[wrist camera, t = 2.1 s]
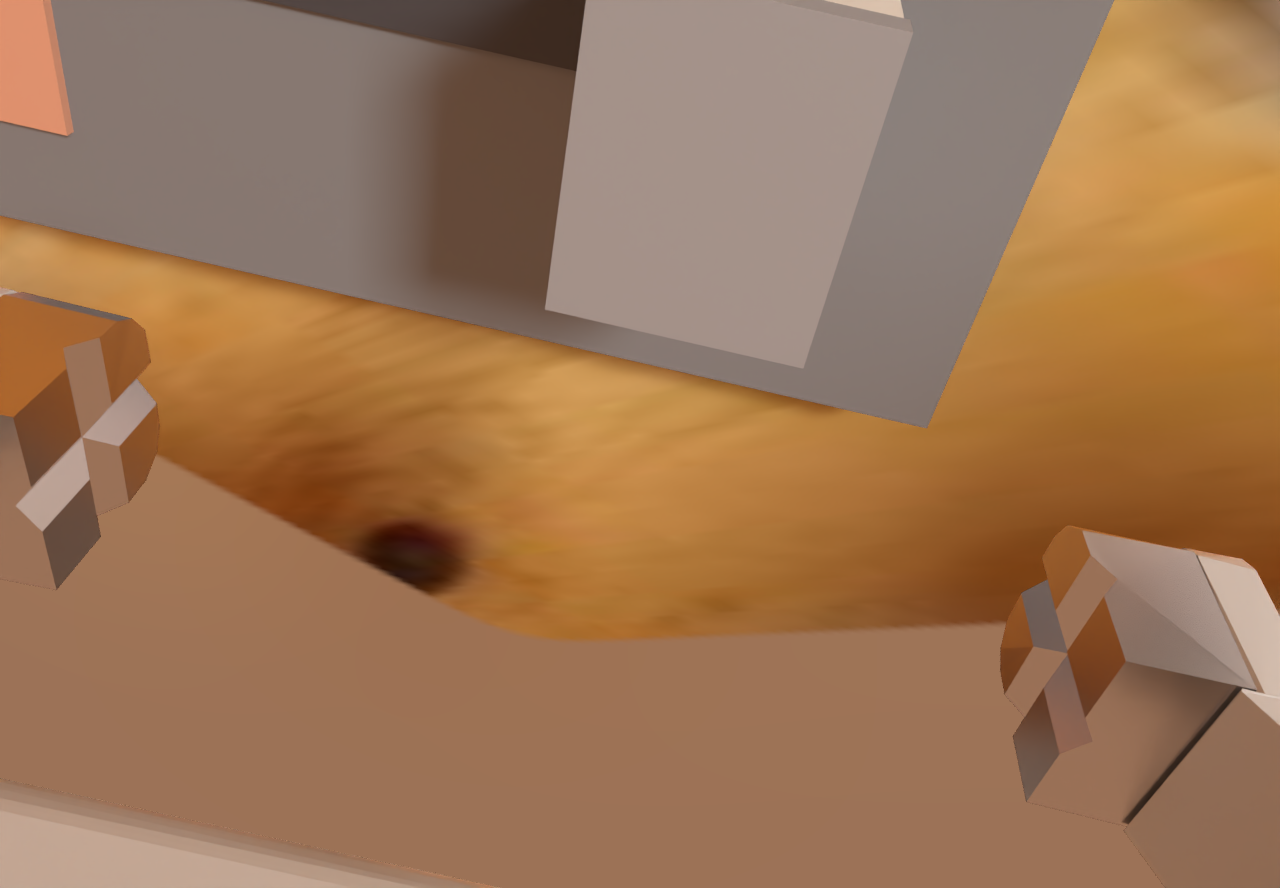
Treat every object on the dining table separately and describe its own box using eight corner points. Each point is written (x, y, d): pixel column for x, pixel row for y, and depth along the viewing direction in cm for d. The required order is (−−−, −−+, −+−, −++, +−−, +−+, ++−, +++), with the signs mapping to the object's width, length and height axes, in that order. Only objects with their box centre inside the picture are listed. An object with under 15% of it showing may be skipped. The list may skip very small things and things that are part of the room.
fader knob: (892, -58, 17) (912, 32, 13) (809, 220, 20) (803, 368, 16) (652, -112, 17) (590, -40, 13) (605, 174, 20) (544, 309, 16)
